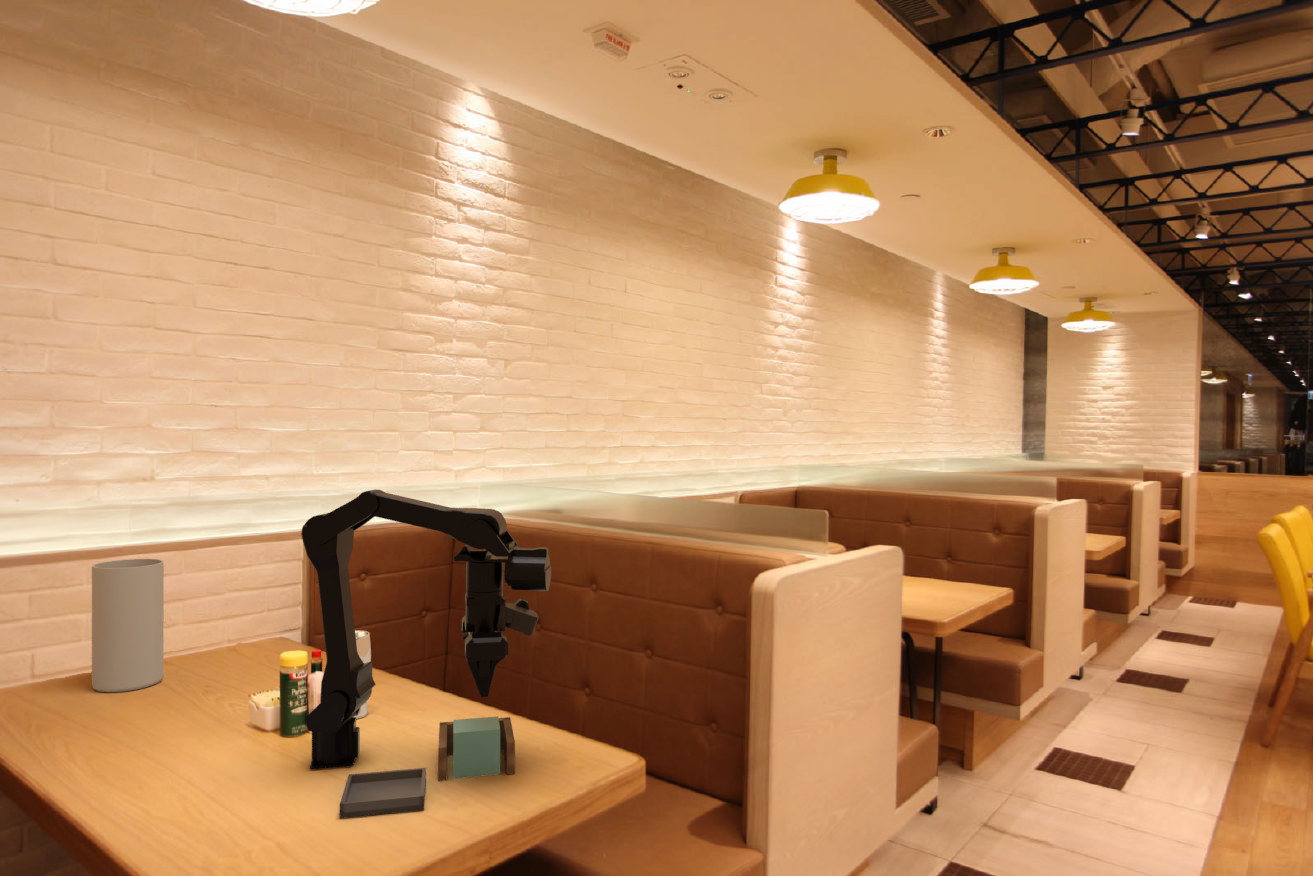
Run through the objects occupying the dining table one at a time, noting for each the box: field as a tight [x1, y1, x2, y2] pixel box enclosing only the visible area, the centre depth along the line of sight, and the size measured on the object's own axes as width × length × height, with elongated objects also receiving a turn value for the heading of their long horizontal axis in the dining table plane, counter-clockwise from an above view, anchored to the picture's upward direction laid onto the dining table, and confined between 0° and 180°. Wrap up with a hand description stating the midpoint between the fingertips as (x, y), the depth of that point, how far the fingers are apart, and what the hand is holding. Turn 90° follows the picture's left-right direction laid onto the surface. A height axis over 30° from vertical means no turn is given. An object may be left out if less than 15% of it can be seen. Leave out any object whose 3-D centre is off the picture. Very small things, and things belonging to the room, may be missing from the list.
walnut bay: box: [437, 716, 516, 782], centre depth 132 cm, size 11×11×5 cm
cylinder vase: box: [91, 558, 165, 693], centre depth 172 cm, size 12×12×25 cm
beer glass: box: [354, 629, 372, 720], centre depth 154 cm, size 7×7×15 cm
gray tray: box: [339, 767, 427, 820], centre depth 119 cm, size 11×10×2 cm
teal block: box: [452, 716, 501, 779], centre depth 130 cm, size 7×6×7 cm
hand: (482, 687), depth 131 cm, fingers open, 9 cm apart
